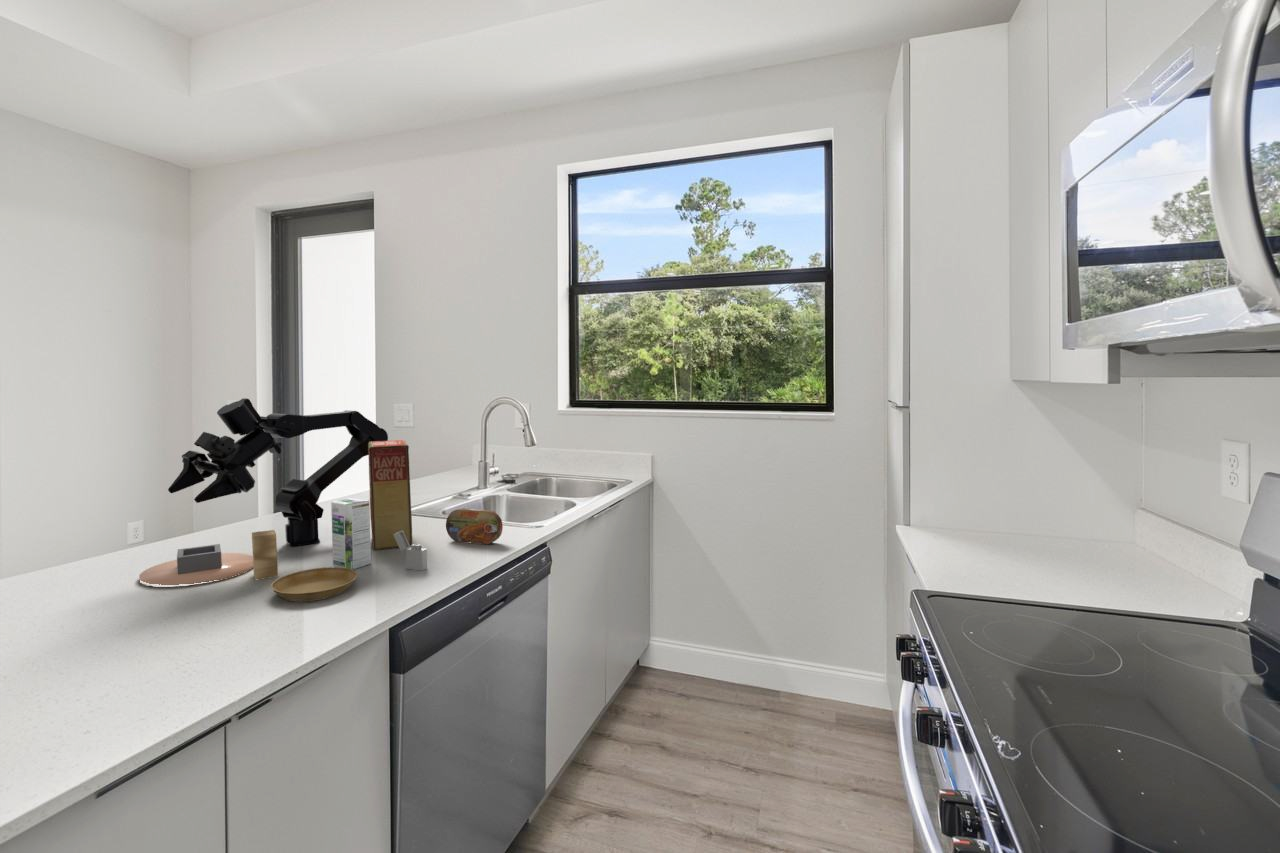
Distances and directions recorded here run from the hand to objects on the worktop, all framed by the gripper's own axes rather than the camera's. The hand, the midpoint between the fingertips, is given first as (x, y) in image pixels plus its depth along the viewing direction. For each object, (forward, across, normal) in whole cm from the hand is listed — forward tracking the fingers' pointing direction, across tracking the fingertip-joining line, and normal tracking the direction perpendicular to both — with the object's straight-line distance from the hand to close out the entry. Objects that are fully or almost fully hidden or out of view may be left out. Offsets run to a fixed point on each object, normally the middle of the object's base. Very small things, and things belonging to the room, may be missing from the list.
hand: (182, 496), depth 128 cm
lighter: (-13, +43, +21) cm, 50 cm away
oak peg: (+3, +20, +14) cm, 25 cm away
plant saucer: (+3, +37, +12) cm, 39 cm away
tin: (-32, +42, +33) cm, 62 cm away
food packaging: (-23, +23, +30) cm, 44 cm away
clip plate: (+8, +5, +14) cm, 16 cm away
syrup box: (-8, +30, +20) cm, 37 cm away
